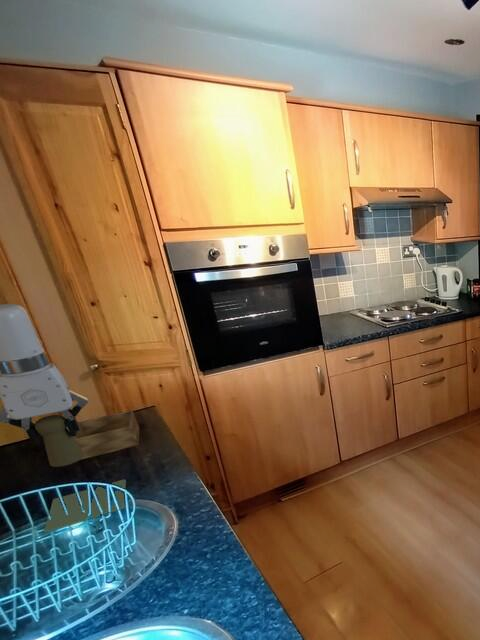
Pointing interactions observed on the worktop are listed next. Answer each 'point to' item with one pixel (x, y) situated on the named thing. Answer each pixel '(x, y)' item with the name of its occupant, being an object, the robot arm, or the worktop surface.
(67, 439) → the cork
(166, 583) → the worktop surface
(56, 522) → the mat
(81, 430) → the basket
